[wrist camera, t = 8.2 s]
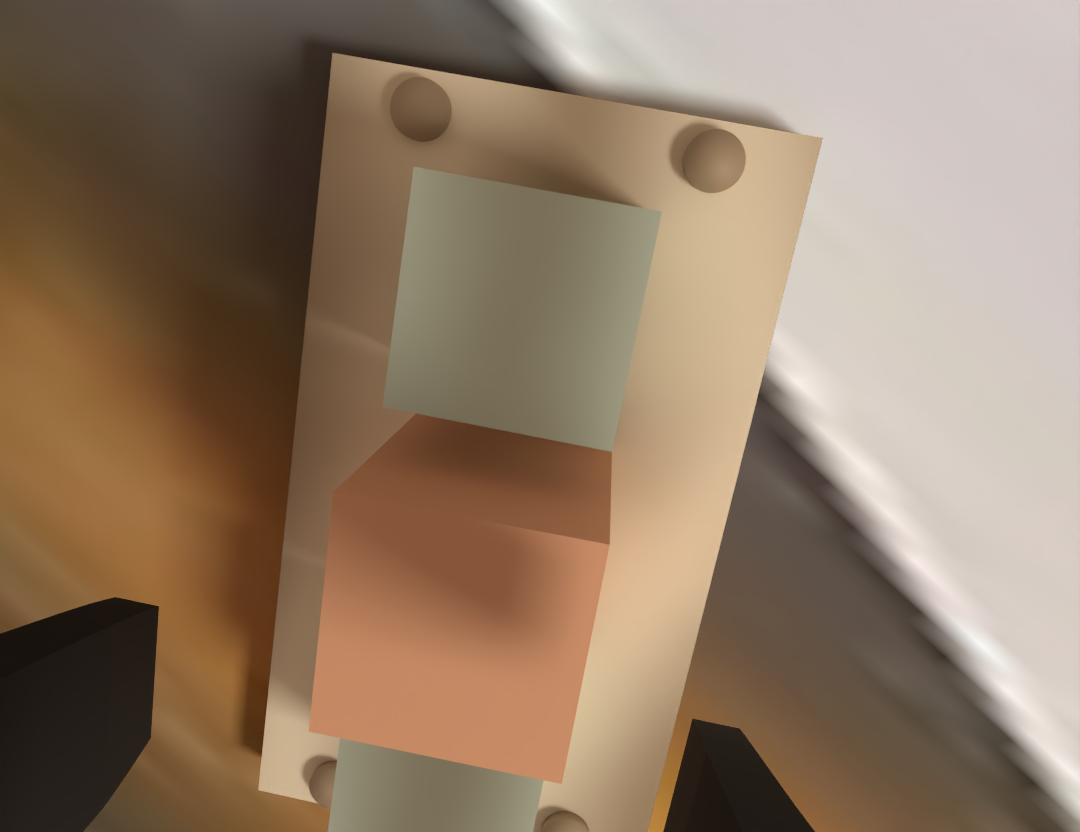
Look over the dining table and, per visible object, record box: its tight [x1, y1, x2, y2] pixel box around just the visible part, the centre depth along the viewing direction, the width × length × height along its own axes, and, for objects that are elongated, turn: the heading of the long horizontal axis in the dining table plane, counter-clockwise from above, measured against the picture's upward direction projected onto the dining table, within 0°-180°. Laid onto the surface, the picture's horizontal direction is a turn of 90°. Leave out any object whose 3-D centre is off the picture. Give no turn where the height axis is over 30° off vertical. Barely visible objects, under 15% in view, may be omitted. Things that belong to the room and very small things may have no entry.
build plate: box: [258, 53, 823, 832], centre depth 17 cm, size 10×18×5 cm, turn 170°
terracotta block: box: [309, 413, 612, 784], centre depth 16 cm, size 4×4×6 cm
